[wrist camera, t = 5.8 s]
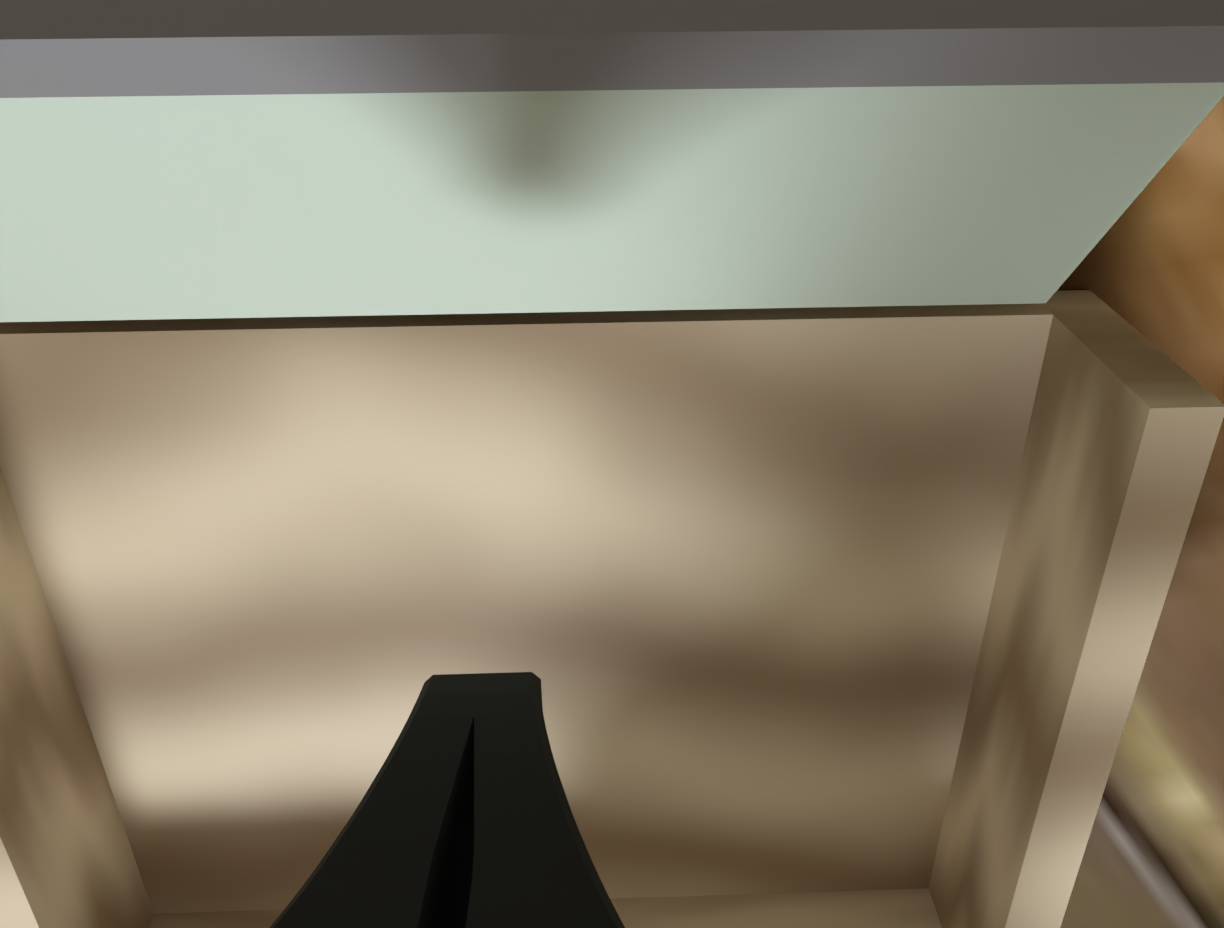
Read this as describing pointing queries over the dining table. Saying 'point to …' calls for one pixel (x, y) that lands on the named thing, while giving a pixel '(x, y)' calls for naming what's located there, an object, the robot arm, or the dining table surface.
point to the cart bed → (587, 595)
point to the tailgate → (576, 151)
